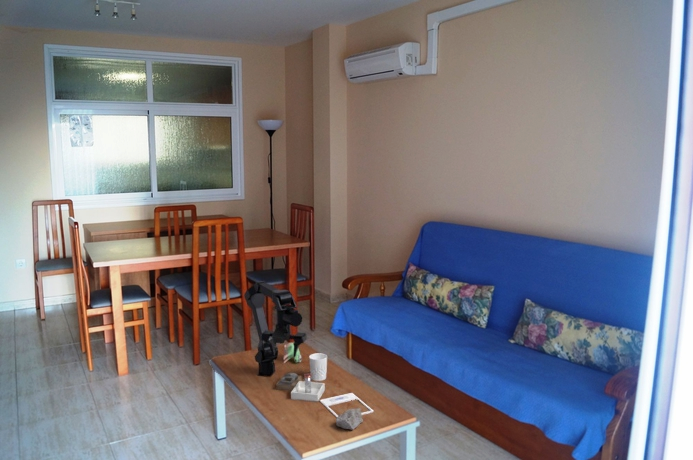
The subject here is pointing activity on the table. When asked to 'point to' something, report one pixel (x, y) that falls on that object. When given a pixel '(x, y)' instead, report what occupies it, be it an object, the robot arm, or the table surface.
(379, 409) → the table surface
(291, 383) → the block
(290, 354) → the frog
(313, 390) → the tray
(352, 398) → the photo frame
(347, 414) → the stone
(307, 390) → the pin
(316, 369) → the white cup
